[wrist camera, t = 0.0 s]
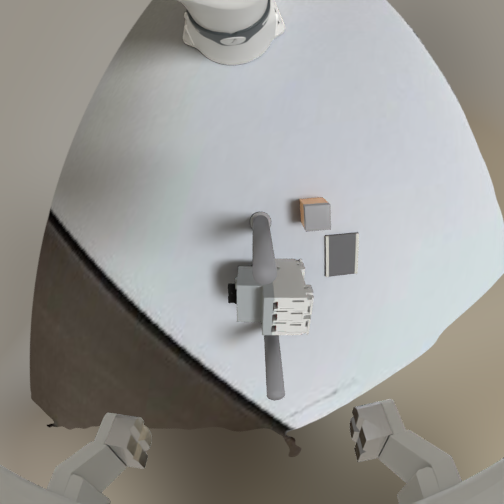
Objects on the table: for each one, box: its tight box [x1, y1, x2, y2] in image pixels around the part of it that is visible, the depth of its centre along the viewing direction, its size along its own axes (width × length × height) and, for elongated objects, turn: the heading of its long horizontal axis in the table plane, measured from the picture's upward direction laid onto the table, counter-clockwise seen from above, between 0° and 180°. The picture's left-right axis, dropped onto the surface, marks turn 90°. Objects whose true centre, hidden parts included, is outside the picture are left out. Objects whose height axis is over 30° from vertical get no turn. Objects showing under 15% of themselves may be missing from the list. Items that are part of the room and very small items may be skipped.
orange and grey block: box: [300, 197, 331, 232], centre depth 53 cm, size 4×4×6 cm
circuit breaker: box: [228, 259, 314, 335], centre depth 54 cm, size 8×14×15 cm, turn 89°
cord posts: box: [250, 212, 285, 400], centre depth 51 cm, size 27×4×22 cm, turn 6°
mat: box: [325, 233, 359, 277], centre depth 59 cm, size 9×7×1 cm
